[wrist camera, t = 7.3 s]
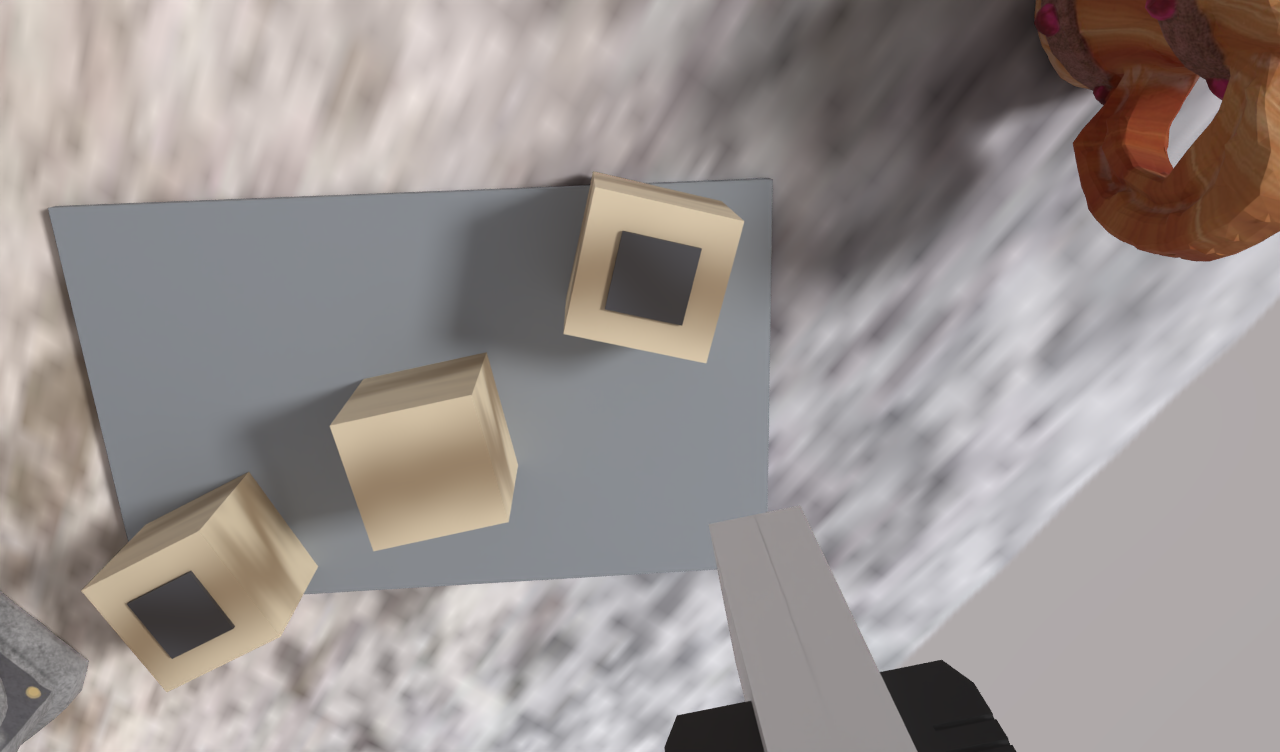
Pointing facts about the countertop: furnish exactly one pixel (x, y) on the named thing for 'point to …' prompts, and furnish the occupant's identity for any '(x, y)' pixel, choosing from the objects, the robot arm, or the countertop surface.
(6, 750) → the figurine
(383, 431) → the plain block
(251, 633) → the labelled block
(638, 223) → the labelled block
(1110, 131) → the mug
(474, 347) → the mat
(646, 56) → the countertop surface
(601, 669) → the countertop surface
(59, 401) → the countertop surface
